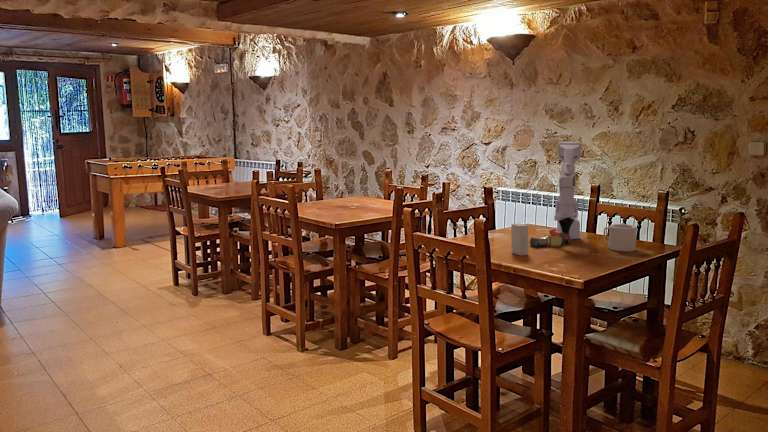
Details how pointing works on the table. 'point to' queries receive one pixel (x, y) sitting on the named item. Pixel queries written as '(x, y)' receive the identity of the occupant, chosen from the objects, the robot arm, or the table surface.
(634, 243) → the mug
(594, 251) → the table surface
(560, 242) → the valve body
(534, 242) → the pipe
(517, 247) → the skincare box
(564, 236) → the lever
